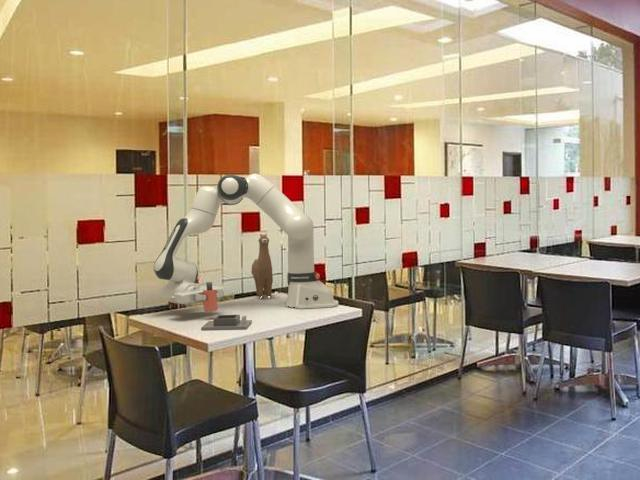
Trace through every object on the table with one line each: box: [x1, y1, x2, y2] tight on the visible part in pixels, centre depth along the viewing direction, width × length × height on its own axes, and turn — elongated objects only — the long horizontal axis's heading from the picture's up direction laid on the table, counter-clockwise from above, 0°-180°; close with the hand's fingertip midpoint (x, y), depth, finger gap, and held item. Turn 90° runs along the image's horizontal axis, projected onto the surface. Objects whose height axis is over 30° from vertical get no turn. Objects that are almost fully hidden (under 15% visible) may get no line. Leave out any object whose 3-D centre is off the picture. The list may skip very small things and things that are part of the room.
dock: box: [200, 314, 253, 331], centre depth 221 cm, size 16×12×4 cm
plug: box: [203, 281, 218, 313], centre depth 237 cm, size 4×4×11 cm
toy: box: [250, 233, 274, 298], centre depth 287 cm, size 9×20×30 cm, turn 14°
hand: (211, 296), depth 237 cm, fingers closed on plug, 4 cm apart
